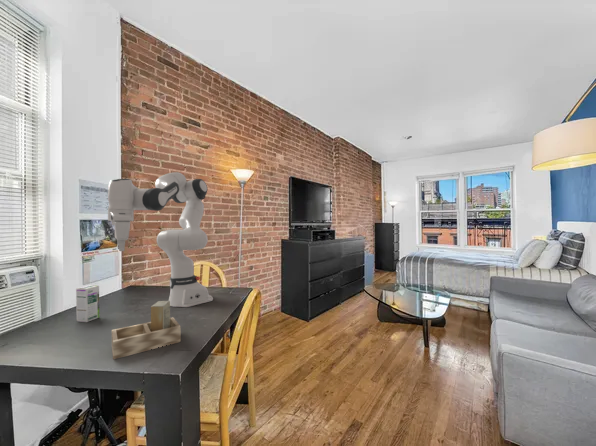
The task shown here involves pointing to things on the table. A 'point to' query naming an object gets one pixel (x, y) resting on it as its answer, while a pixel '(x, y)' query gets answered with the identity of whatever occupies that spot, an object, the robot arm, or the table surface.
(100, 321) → the table surface
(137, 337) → the slot rack
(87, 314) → the syrup box
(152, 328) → the skincare box
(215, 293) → the table surface
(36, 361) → the table surface
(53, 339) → the table surface
